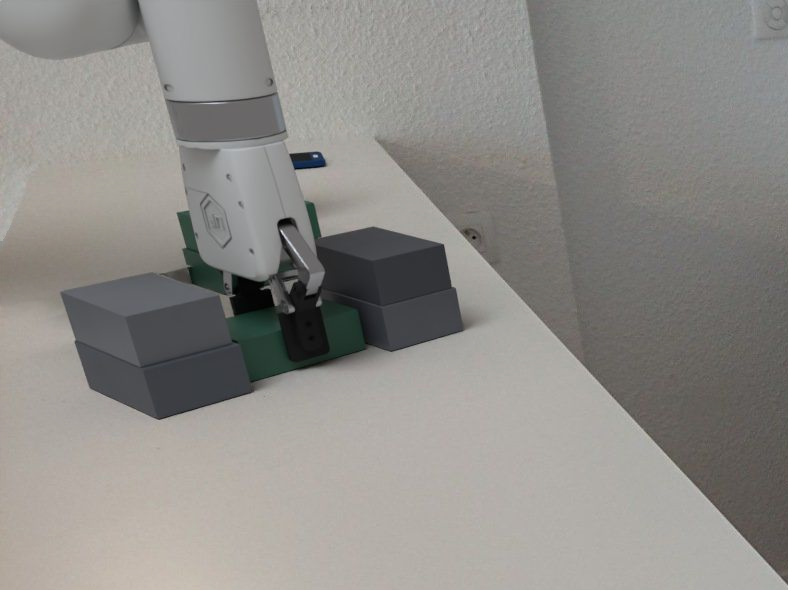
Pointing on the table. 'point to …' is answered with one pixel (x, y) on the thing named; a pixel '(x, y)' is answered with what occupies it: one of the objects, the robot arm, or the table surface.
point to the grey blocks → (210, 330)
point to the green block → (267, 344)
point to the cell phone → (307, 159)
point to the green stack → (210, 275)
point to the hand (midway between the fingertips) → (285, 346)
